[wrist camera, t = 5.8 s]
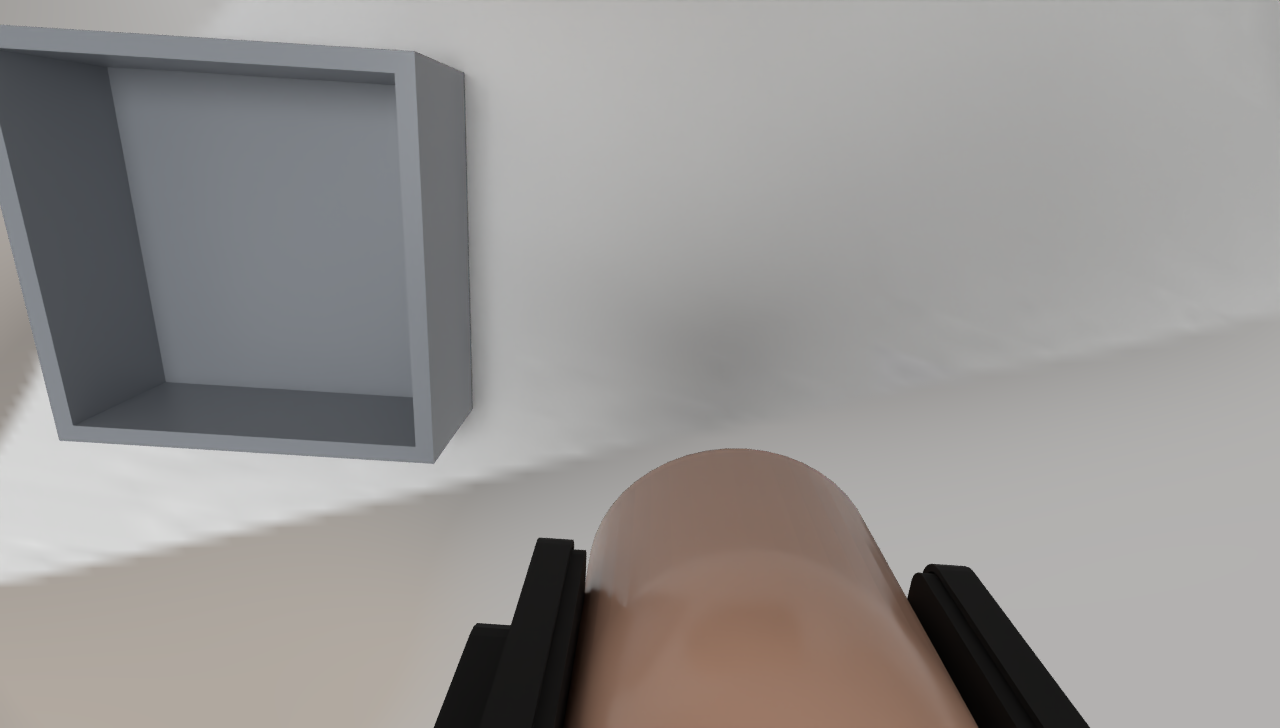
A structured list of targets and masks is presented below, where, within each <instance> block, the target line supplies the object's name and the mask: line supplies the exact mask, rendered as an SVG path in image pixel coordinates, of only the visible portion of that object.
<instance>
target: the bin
mask: <svg viewBox="0 0 1280 728" xmlns="http://www.w3.org/2000/svg"><path fill="white" fill-rule="evenodd" d="M0 205H1V209H2V213H3V217H4V221H5V225H6V229H7V233H8V237H9V241H10V245H11V249H12V253H13V257H14V261H15V265H16V269H17V273H18V277H19V281H20V285H21V289H22V293H23V297H24V301H25V305H26V309H27V313H28V317H29V321H30V325H31V329H32V333H33V337H34V341H35V345H36V349H37V353H38V357H39V361H40V365H41V369H42V373H43V377H44V381H45V385H46V389H47V393H48V397H49V401H50V405H51V409H52V413H53V417H54V421H55V425H56V429H57V433H58V437H59V440H60V441H76V442H92V443H108V444H124V445H141V446H157V447H173V448H189V449H205V450H221V451H237V452H253V453H270V454H286V455H302V456H318V457H334V458H350V459H366V460H382V461H399V462H415V463H431V464H434V463H435V461H436V460H437V458H438V457H439V456H440V454H441V453H442V451H443V450H444V448H445V447H446V446H447V444H448V443H449V441H450V440H451V439H452V437H453V436H454V434H455V433H456V431H457V430H458V429H459V427H460V426H461V424H462V423H463V421H464V420H465V419H466V417H467V416H468V414H469V413H470V411H471V410H472V374H471V334H470V294H469V254H468V214H467V174H466V134H465V94H464V73H463V72H461V71H459V70H456V69H454V68H452V67H449V66H447V65H445V64H443V63H440V62H438V61H436V60H433V59H431V58H429V57H426V56H424V55H422V54H420V53H417V52H415V51H403V50H387V49H372V48H356V47H340V46H325V45H309V44H293V43H278V42H262V41H246V40H231V39H215V38H199V37H184V36H167V35H152V34H136V33H121V32H120V33H119V32H105V31H90V30H74V29H58V28H43V27H27V26H10V25H0Z"/></svg>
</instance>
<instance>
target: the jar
mask: <svg viewBox="0 0 1280 728" xmlns="http://www.w3.org/2000/svg"><path fill="white" fill-rule="evenodd" d="M563 728H978V726H977V724H976V722H975V720H974V719H973V717H972V715H971V713H970V711H969V710H968V708H967V706H966V704H965V702H964V701H963V699H962V697H961V695H960V693H959V691H958V690H957V688H956V686H955V684H954V682H953V681H952V679H951V677H950V675H949V673H948V672H947V670H946V668H945V666H944V664H943V663H942V661H941V659H940V657H939V655H938V654H937V652H936V650H935V648H934V646H933V645H932V643H931V641H930V639H929V637H928V636H927V634H926V632H925V630H924V628H923V627H922V625H921V623H920V621H919V619H918V618H917V616H916V614H915V612H914V610H913V609H912V607H911V605H910V603H909V601H908V600H907V598H906V596H905V594H904V592H903V591H902V589H901V587H900V585H899V583H898V581H897V580H896V578H895V576H894V574H893V572H892V571H891V569H890V567H889V565H888V563H887V562H886V560H885V558H884V556H883V554H882V553H881V551H880V549H879V547H878V546H877V544H876V542H875V540H874V538H873V536H872V535H871V533H870V531H869V529H868V528H867V526H866V524H865V522H864V520H863V518H862V517H861V515H860V513H859V511H858V509H857V508H856V507H855V505H854V504H853V503H852V501H851V500H850V499H849V497H848V496H847V495H846V494H845V493H844V492H843V491H842V490H841V489H840V488H839V487H838V486H837V485H836V484H835V483H834V482H832V481H831V480H830V479H828V478H827V477H826V476H824V475H823V474H822V473H820V472H818V471H817V470H815V469H813V468H811V467H809V466H808V465H806V464H804V463H802V462H799V461H797V460H794V459H791V458H789V457H786V456H783V455H779V454H775V453H771V452H767V451H760V450H752V449H718V450H709V451H703V452H699V453H695V454H690V455H686V456H684V457H681V458H678V459H675V460H673V461H670V462H667V463H666V464H664V465H662V466H660V467H658V468H656V469H654V470H652V471H650V472H649V473H647V474H646V475H644V476H643V477H641V478H640V479H639V480H637V481H636V482H634V483H633V484H632V485H631V486H630V487H629V488H628V489H626V490H625V491H624V492H623V493H622V494H621V495H620V497H619V498H618V499H617V500H616V501H615V502H614V503H613V505H612V506H611V507H610V509H609V510H608V512H607V514H606V515H605V517H604V518H603V520H602V521H601V524H600V526H599V528H598V530H597V532H596V535H595V538H594V541H593V545H592V549H591V552H590V559H589V564H588V571H587V576H586V582H585V597H584V603H583V609H582V615H581V621H580V627H579V633H578V639H577V645H576V651H575V658H574V664H573V670H572V676H571V682H570V688H569V694H568V700H567V706H566V712H565V718H564V725H563Z"/></svg>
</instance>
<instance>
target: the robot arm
mask: <svg viewBox="0 0 1280 728" xmlns="http://www.w3.org/2000/svg"><path fill="white" fill-rule="evenodd" d="M585 577H586V550H574V541H573V540H568V539H553V538H538V540H537V543H536V546H535V549H534V552H533V556H532V559H531V562H530V565H529V568H528V572H527V575H526V578H525V581H524V585H523V588H522V591H521V594H520V598H519V601H518V604H517V608H516V611H515V614H514V617H513V620H512V624H511V625H497V624H482V623H477V624H476V625H475V626H474V627H473V629H472V631H471V633H470V635H469V638H468V641H467V643H466V646H465V649H464V651H463V653H462V656H461V659H460V661H459V664H458V667H457V669H456V672H455V674H454V677H453V680H452V682H451V685H450V687H449V690H448V692H447V695H446V697H445V700H444V703H443V705H442V708H441V710H440V713H439V716H438V718H437V721H436V723H435V726H434V728H563V725H564V718H565V712H566V706H567V700H568V694H569V688H570V682H571V676H572V670H573V664H574V658H575V651H576V645H577V639H578V633H579V627H580V621H581V615H582V609H583V603H584V597H585V579H586V578H585ZM907 600H908V601H909V603H910V605H911V607H912V609H913V610H914V612H915V614H916V616H917V618H918V619H919V621H920V623H921V625H922V627H923V628H924V630H925V632H926V634H927V636H928V637H929V639H930V641H931V643H932V645H933V646H934V648H935V650H936V652H937V654H938V655H939V657H940V659H941V661H942V663H943V664H944V666H945V668H946V670H947V672H948V673H949V675H950V677H951V679H952V681H953V682H954V684H955V686H956V688H957V690H958V691H959V693H960V695H961V697H962V699H963V701H964V702H965V704H966V706H967V708H968V710H969V711H970V713H971V715H972V717H973V719H974V720H975V722H976V724H977V726H978V728H1090V727H1089V726H1088V724H1087V723H1086V722H1085V721H1084V719H1083V718H1082V716H1081V715H1080V714H1079V712H1078V711H1077V710H1076V708H1075V707H1074V706H1073V705H1072V703H1071V702H1070V700H1069V699H1068V698H1067V696H1066V695H1065V694H1064V692H1063V691H1062V690H1061V688H1060V687H1059V686H1058V684H1057V683H1056V681H1055V680H1054V679H1053V678H1052V676H1051V675H1050V674H1049V672H1048V671H1047V669H1046V668H1045V667H1044V665H1043V664H1042V663H1041V661H1040V660H1039V659H1038V657H1037V656H1036V655H1035V653H1034V652H1033V651H1032V649H1031V648H1030V647H1029V645H1028V644H1027V643H1026V641H1025V640H1024V639H1023V638H1022V636H1021V635H1020V634H1019V632H1018V631H1017V629H1016V628H1015V627H1014V625H1013V624H1012V623H1011V621H1010V620H1009V618H1008V617H1007V616H1006V614H1005V613H1004V612H1003V611H1002V609H1001V608H1000V606H999V605H998V604H997V602H996V601H995V600H994V598H993V597H992V596H991V594H990V593H989V592H988V590H987V589H986V588H985V586H984V585H983V584H982V582H981V581H980V580H979V578H978V577H977V576H976V574H975V573H974V572H973V571H972V570H971V569H970V568H969V567H966V566H954V565H940V564H929V565H927V566H926V567H925V569H924V571H923V573H916V574H915V575H914V576H913V578H912V581H911V585H910V590H909V594H908V598H907Z"/></svg>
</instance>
